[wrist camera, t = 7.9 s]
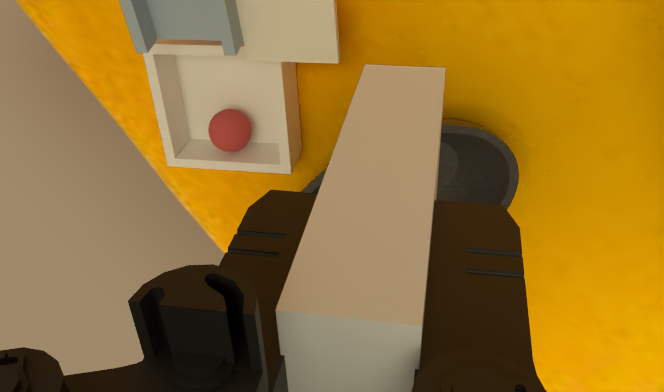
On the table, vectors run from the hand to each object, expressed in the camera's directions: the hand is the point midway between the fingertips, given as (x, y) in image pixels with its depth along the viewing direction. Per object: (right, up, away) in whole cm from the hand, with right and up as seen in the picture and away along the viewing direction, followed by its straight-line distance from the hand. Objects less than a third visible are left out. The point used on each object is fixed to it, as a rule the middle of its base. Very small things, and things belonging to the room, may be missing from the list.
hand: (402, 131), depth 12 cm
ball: (-10, +4, +39) cm, 40 cm away
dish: (-9, +7, +39) cm, 41 cm away
